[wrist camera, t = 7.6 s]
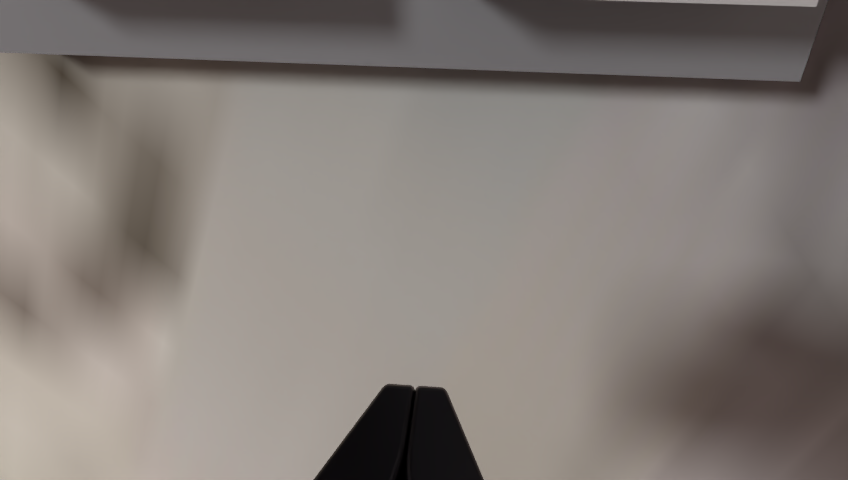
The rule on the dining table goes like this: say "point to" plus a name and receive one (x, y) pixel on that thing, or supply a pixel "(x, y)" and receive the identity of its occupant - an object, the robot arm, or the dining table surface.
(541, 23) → the key panel
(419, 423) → the robot arm
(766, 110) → the dining table surface
